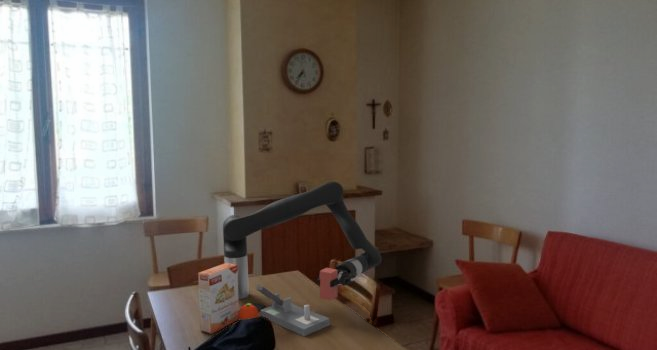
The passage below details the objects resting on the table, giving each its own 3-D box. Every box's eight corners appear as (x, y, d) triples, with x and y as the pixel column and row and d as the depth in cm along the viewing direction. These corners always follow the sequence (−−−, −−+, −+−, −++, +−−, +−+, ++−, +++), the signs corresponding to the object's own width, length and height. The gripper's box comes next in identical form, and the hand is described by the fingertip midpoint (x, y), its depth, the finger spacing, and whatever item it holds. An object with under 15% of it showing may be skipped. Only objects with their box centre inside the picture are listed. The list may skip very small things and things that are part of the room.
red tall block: (319, 298, 176) (319, 271, 175) (326, 294, 180) (326, 267, 179) (330, 300, 174) (330, 273, 172) (337, 296, 178) (337, 269, 176)
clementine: (241, 318, 180) (241, 299, 179) (260, 318, 179) (259, 299, 179) (237, 327, 172) (236, 308, 171) (256, 327, 171) (256, 308, 171)
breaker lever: (278, 305, 183) (254, 288, 174) (280, 301, 183) (257, 284, 175) (285, 308, 180) (261, 291, 171) (288, 304, 180) (264, 286, 172)
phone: (229, 317, 179) (248, 302, 193) (229, 320, 179) (248, 304, 194) (247, 320, 177) (265, 304, 191) (248, 322, 177) (266, 306, 191)
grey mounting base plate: (260, 316, 181) (259, 296, 180) (285, 307, 189) (285, 288, 188) (304, 336, 164) (303, 314, 163) (329, 325, 172) (329, 304, 171)
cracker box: (212, 335, 166) (209, 275, 164) (199, 331, 169) (196, 272, 167) (240, 320, 178) (238, 264, 176) (228, 316, 181) (225, 261, 179)
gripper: (332, 258, 191) (307, 269, 177) (365, 263, 184) (341, 276, 169) (332, 276, 192) (308, 289, 178) (365, 283, 185) (341, 297, 170)
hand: (324, 283), depth 174 cm, fingers closed on red tall block, 4 cm apart
